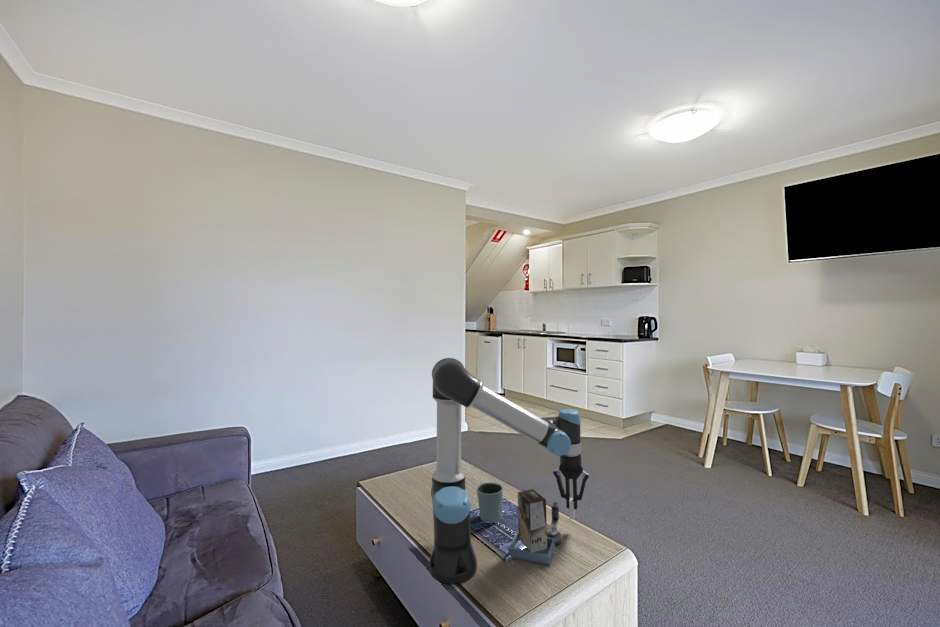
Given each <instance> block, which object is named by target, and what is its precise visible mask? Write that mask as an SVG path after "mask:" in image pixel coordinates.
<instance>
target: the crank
mask: <svg viewBox="0 0 940 627" xmlns="http://www.w3.org/2000/svg"><path fill="white" fill-rule="evenodd" d="M550 507H551V508H550V509H551V522H550V526H547V536H550V537H556V536H557V535H558V532H559V531H558V530H559V529H558V528H557V527H558V524H559V519H560V510H559V509H560V507H559V504H558V502H556V501H554V502H553V503H552V505H551V506H550Z"/></svg>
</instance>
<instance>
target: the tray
mask: <svg viewBox="0 0 940 627" xmlns="http://www.w3.org/2000/svg"><path fill="white" fill-rule="evenodd" d="M518 539H519V531H516V532H515V534H514V537H513V538H512V541H511V543H510V545H509V547H508V554H509V555H510V556H511V558H512V559H515V560H516V559H517V560H520V561H526V562H529V563H535V564H540V565H543V566H544V565H545V566H550V565H551V562H552V558H553V555H554V552H555V547H556V545H555V539H554V538H548V537H547V549H544V550H540V551H536V552H533V553H531V552H530V551H529V550H528V548H525V549H523V550H521V549H516V548H514V547H515V545H516V543H517V541H518ZM519 540H520V539H519Z"/></svg>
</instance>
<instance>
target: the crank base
mask: <svg viewBox="0 0 940 627" xmlns="http://www.w3.org/2000/svg"><path fill="white" fill-rule="evenodd" d="M547 537H548V538H554V539H555V546H558V545H560V544H561V543H562V533H561V532H560V531H558V535H557V536H556V537H550V536H547Z"/></svg>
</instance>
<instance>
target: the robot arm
mask: <svg viewBox="0 0 940 627" xmlns="http://www.w3.org/2000/svg"><path fill="white" fill-rule="evenodd" d="M431 378H432V399H433V400H434V401H435V402H436V470H434V471H433V473H432V474H431V491H430V496H431V500H432V501H431V503H432V513H433V514H432V516H433V517H432V518H433V542H434V544H433V546H432V547H433V548H432V550H431V554H430V557H429V562H428V566H429V567H428V568H429V570H428V571H429V574H430V576H431V577H432V578H433V579H434V580H435V581H437V582H439V583H441V584H442V583H443V584H449V585H454V584H460V583H463V582H466V581H468V580H469V579H471V578H472V577H474V575H475V574H476V572H477V570H478V569H477V568H478V562H477V561H478V559H477V555H476V553H475V550H474V547H473V544H472V541H471V540H472V539H471V536H472V535H471V533H472V532H471V531H472V530H471V499H470V495H469V493H468V492H467V491H466V473H465V471H463V470H462V406H463V407H465V408H474V409H475V410H476V411H479V412H480V413H483V414H485V415H486V416H488V417H489V418H491V419H493V420H495V421H497V422H499V423H501V424H503V425H504V426H506V427H508V428H510V429H511V430H514V431H515V432H517V433H519V434H521V435H522V436H524V437H526V438H527V439H529V440H531V441H533V442H534V443H537V445H539V446H542V447H543V448H545V449H547V450H548V452H549V453H551V454H552V455H554V456H558V457H559V463H560V464H559V466H558V467H557V468H554V469H553V472H552V474H553V476H554V477H555V479H556V482H557V483H556V484H557V487H558V491H559V494H560V497H561V499H565V501H566V502H565V504H566V509H569V519H570V520H575V517H576V514H575V512H576V510H578V501H582V500H583V495H584V491H585V487H586V483H587V480H588V479H589V478H590V472H586V470H584V468H583V466H582V441H581V416H580V412H579V411H577V409H570V408H565V409H560V410H559V411H558V416H557V415H556V416H552V417H551V416H549V417H539V416H537V415H535V414H534V413H532V412H530V411H528V410H526V409H525V408H523V407H522V406H520V405H518V404H516V403H515V402H513V401H510V400H509V399H507V398H506V397H504V396H502V395H500V394H499V393H497V392H495V391H493V390H491V389H490V388H488V387H486V386H485V385H483V382H482V380H481V379H479V378H477V377H475V375H472V374H471V373H470V372H469V371H468V370H467V369H466V367H464V364H463V363H462V362H461V361H460V360H459V359H456V358H453V357H445V358H442V359H440V360H438V361H437V362H436V363H435V364H434V366H433V368H432V370H431ZM561 474H562V476H563V477H564V478H565V480H564V482H565V486H564V484H563V480H562V478H561V477H562V476H561ZM580 476H581V477H582V481H581V485H580V489H579V494H578V478H579V477H580ZM571 480H572V497H571ZM564 487H565V488H564Z"/></svg>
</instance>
